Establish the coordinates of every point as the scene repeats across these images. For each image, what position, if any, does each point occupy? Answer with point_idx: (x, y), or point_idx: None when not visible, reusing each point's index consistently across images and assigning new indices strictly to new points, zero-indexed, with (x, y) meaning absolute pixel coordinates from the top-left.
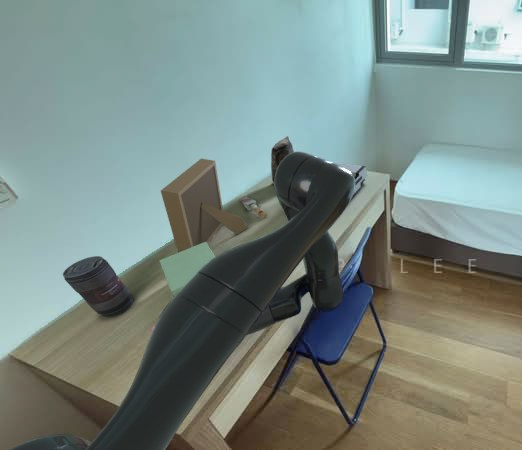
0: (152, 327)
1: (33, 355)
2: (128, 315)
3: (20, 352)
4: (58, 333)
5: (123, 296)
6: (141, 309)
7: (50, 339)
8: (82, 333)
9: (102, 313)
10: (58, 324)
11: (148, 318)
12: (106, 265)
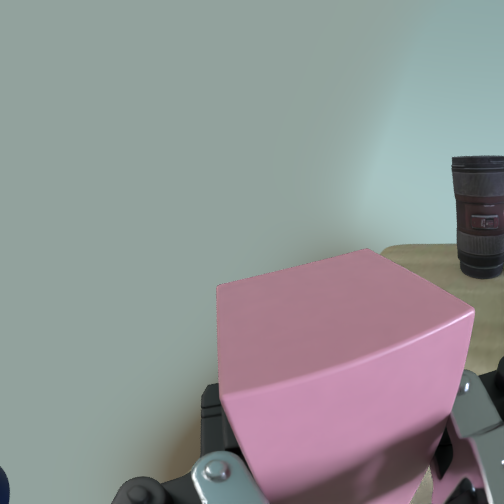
0: (354, 251)
1: (384, 255)
2: (476, 286)
3: (387, 247)
4: (419, 252)
5: (493, 247)
6: (495, 292)
7: (409, 253)
8: (426, 267)
9: (459, 256)
10: (430, 246)
11: (486, 313)
12: (501, 168)
